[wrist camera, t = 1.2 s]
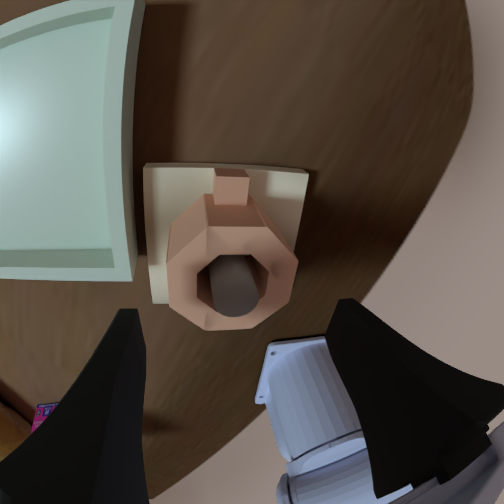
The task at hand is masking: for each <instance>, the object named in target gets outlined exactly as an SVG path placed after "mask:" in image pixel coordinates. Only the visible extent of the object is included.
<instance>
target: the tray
mask: <svg viewBox="0 0 504 504" xmlns="http://www.w3.org/2000/svg"><path fill="white" fill-rule="evenodd" d="M145 5H146V4H145V2H144V0H70V1H66V2H63V3H59V4H56V5H52V6H49V7H46V8H43V9H40V10H37V11H34V12H32V13H29V14H26V15H24V16H21V17H19V18H16V19H14V20H12V21H9V22H7V23H5V24H3V25H0V278H4V279H29V280H65V281H132V280H133V276H134V272H135V268H136V264H137V260H138V247H137V236H136V225H135V211H134V192H133V109H134V92H135V79H136V68H137V58H138V50H139V42H140V35H141V28H142V22H143V16H144V11H145Z"/></svg>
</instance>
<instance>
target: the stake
mask: <svg viewBox="0 0 504 504" xmlns="http://www.w3.org/2000/svg"><path fill="white" fill-rule="evenodd" d="M214 168H227V169H244V170H245V171H246V173H247V174H248V176H249V177H250V179H249V188H248V195H250V196H251V197H252V198H253V200H254V201H255V202H256V203H257V204H258V205H259V206H260V207H261V209H262V210H263V211H264V212H265V213H266V214H267V215H268V216H269V218H270V219H271V220H272V221H273V222H274V223H275V224H276V225H277V227H278V228H279V230H280V231H281V233H282V235H283V236H284V238H285V240H286V241H287V243H288V244H289V246H290V248H291V249H292V251H293V253H294V248H295V243H296V239H297V234H298V229H299V224H300V219H301V214H302V209H303V203H304V198H305V193H306V188H307V182H308V177H309V174H308V173H307V172H305V171H304V170H303V169H297V168H286V167H274V166H260V165H244V164H222V163H146V164H145V166H144V167H143V192H144V215H145V231H146V245H147V256H148V266H149V276H150V284H151V292H152V300H153V304H163V303H169V294H168V282H167V267H166V256H167V247H168V238H169V230H170V224H172V223H173V222H174V221H175V220H176V219H177V218H178V217H179V216H180V215H181V214H182V213H183V212H184V211H186V210H187V209H188V208H189V207H190V206H191V205H192V204H193V203H194V202H195V201H197V200H198V199H199V198H200V197H201V196H202V195H203V194H212V191H213V176H214ZM248 255H249V254H236V255H219V256H217V257H216V258H215V259H214V260H213V261H211V262H210V263H209V264H208V265H207V266H208V267H209V274H210V282H211V289H212V296H213V303H214V307H215V309H216V310H217V311H218V312H219V313H220V314H222V315H224V316H227V317H240V316H243V315H246V314H248V313H250V312H251V311H252V310H253V309H254V308H255V307H256V306H257V304H258V301H259V294H258V291H257V288H256V285H255V282H254V279H253V276H252V273H251V271H250V268H249V265H248V262H247V259H246V257H247V256H248Z"/></svg>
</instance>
